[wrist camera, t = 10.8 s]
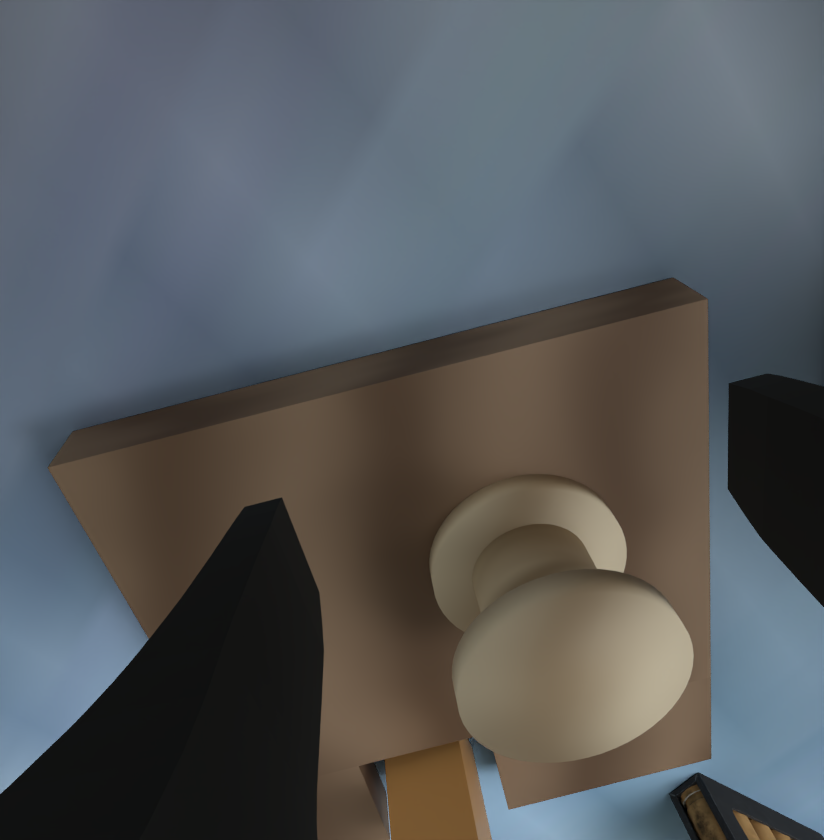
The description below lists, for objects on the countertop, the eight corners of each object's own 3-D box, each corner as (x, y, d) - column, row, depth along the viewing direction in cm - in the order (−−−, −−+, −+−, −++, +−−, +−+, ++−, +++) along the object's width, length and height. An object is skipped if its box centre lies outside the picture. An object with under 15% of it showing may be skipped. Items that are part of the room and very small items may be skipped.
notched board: (673, 277, 19) (708, 298, 18) (687, 716, 29) (711, 758, 27) (72, 431, 19) (47, 467, 18) (286, 817, 29) (283, 866, 27)
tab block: (451, 704, 27) (482, 859, 22) (472, 747, 28) (505, 903, 23) (381, 727, 27) (395, 887, 22) (405, 769, 28) (423, 929, 23)
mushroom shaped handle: (609, 452, 20) (691, 564, 15) (622, 600, 22) (695, 730, 18) (410, 503, 20) (434, 629, 15) (449, 644, 22) (480, 784, 18)
